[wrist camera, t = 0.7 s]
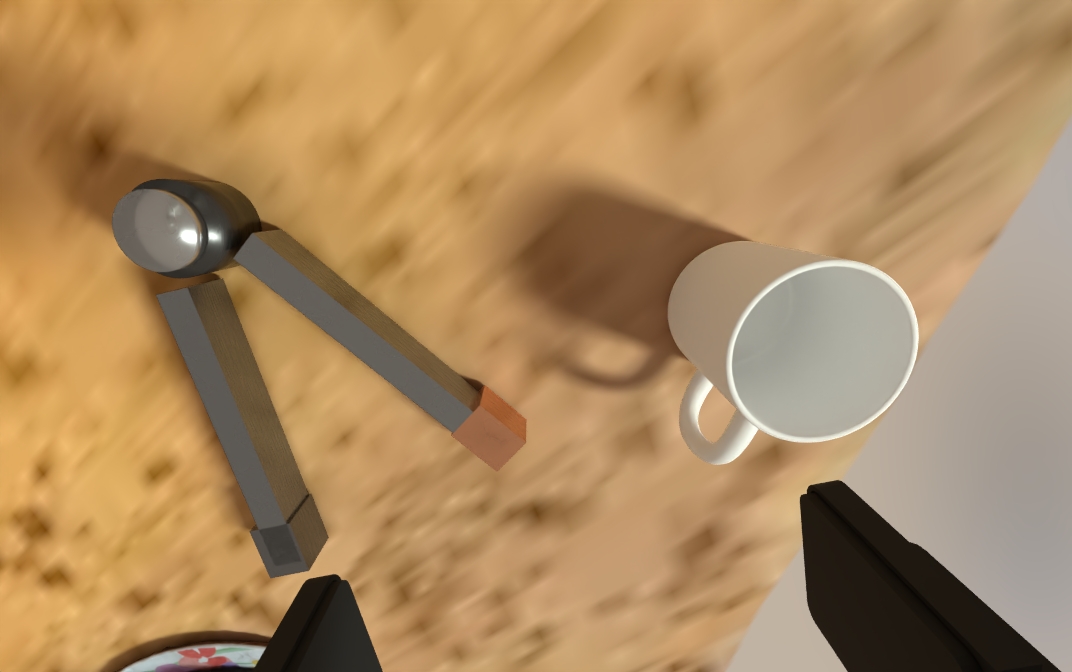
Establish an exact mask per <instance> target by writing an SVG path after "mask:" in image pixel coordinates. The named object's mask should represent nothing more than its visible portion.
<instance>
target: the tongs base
mask: <svg viewBox="0 0 1072 672" xmlns="http://www.w3.org/2000/svg"><path fill="white" fill-rule="evenodd" d="M141 189H161V190H170V191H173V192H176V193H179V194H181V195H183V196H184V197H186V198H187V199H189V200H190V201H191V202H192V203H193V204H194V205H195V206H196V207H197V208H198V209H199V211H200V212H201V213H202V215H203V217H204V219H205V221H206V224H207V228H208V234H209V240H208V246H207V249H206V252H205V254H204V255H203V257H202V258H201V259H200V260H199V261H198V262H197V263H196V264H194V265H192V266H190V267H188V268H184V269H179V270H175V271H170V272H157V273H159V274H161V275H164V276H168V277H172V278H189V277H194V276H198V275H202V274H206V273H211V272H215V271H219V270H223V269H228V268H232V267H236V266H239V265H241V264H240V263H238V262H237V261H236V260H235V259H233V258H234V257H235V255H236V254H237V253H238V251H239V250H240V249H241V247H242V246H243V245H244V243H245V242H246V241H247V239H248V238H249V237H250V235H251V234H252V233H256V232H261V223H260V219H259V216H258V214H257V212H256V210H255V208H254V206H253V205H252V203H251V202H250V201H249V200H248V198H247V197H246V196H245V195H243V194H242V193H241V192H240V191H238V190H237V189H235V188H233V187H232V186H229V185H227V184H224V183H220V182H212V181H192V180H171V179H156V180H150V181H147V182H144V183H142V184H140V185H139V186H137V187H136V188H134V190H133V191H136V190H141ZM156 296H157V299H158V301H159V303H160V305H161V308H162V310H163V312H164V315H165V317H166V319H167V321H168V324H169V326H170V328H171V331H172V333H173V335H174V337H175V340H176V342H177V344H178V347H179V349H180V351H181V353H182V356H183V358H184V360H185V362H186V365H187V367H188V369H189V372H190V374H191V376H192V378H193V381H194V383H195V385H196V388H197V390H198V392H199V394H200V397H201V399H202V401H203V404H204V406H205V408H206V410H207V413H208V415H209V417H210V420H211V422H212V424H213V426H214V429H215V431H216V433H217V436H218V438H219V440H220V442H221V445H222V447H223V449H224V451H225V454H226V456H227V458H228V461H229V463H230V465H231V467H232V470H233V472H234V474H235V477H236V479H237V481H238V483H239V486H240V488H241V490H242V493H243V495H244V497H245V499H246V502H247V504H248V506H249V509H250V511H251V513H252V515H253V518H254V520H255V522H256V525H255V526H254V527H253V528H252V529H251V531H250V533H251V536H252V538H253V540H254V542H255V545H256V547H257V549H258V551H259V554H260V556H261V558H262V560H263V563H264V565H265V567H266V569H267V572H268V574H269V576H270V578H274V577H279V576H284V575H289V574H294V573H299V572H305V571H309V570H310V568H311V566H312V565H313V563H314V561H315V560H316V558H317V556H318V555H319V553H320V551H321V550H322V548H323V546H324V544H325V543H326V541H327V539H328V538H329V537H328V535H327V532H326V530H325V527H324V525H323V522H322V519H321V517H320V514H319V512H318V509H317V507H316V504H315V502H314V499H313V497H312V494H308V492H307V489H306V487H305V484H304V482H303V479H302V477H301V474H300V472H299V469H298V467H297V464H296V462H295V459H294V456H293V454H292V451H291V449H290V446H289V444H288V441H287V439H286V436H285V434H284V431H283V429H282V426H281V424H280V421H279V419H278V416H277V414H276V411H275V409H274V406H273V404H272V401H271V399H270V396H269V394H268V391H267V388H266V386H265V383H264V381H263V378H262V376H261V373H260V371H259V368H258V366H257V363H256V361H255V358H254V356H253V353H252V351H251V348H250V346H249V343H248V341H247V338H246V336H245V333H244V331H243V328H242V326H241V323H240V320H239V318H238V315H237V313H236V310H235V308H234V305H233V303H232V300H231V298H230V295H229V293H228V290H227V288H226V285H225V283H224V280H223V279H218V280H214V281H210V282H205V283H201V284H197V285H192V286H189V287H185V288H181V289H177V290H173V291H169V292H166V293H162V294H158V295H156Z"/></svg>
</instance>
